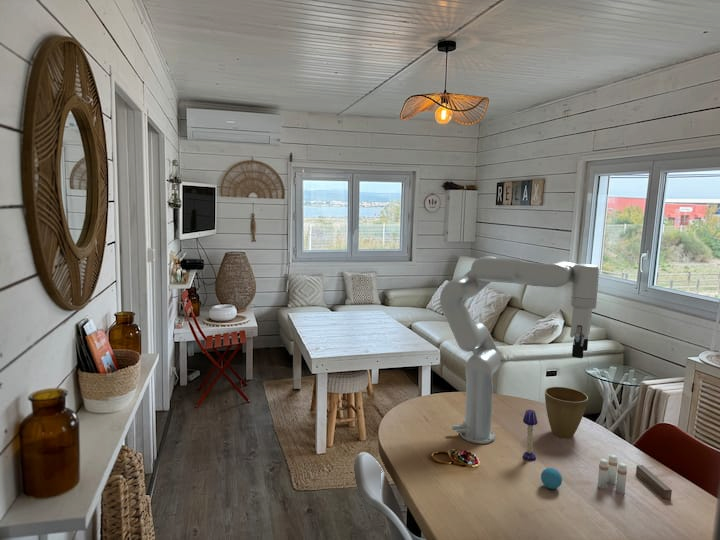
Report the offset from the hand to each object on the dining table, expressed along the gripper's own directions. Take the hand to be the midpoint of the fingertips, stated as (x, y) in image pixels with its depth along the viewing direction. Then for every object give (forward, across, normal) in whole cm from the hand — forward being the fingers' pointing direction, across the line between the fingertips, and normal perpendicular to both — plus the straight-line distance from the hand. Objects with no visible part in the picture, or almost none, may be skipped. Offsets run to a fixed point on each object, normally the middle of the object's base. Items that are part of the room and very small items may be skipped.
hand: (579, 353), depth 163 cm
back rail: (+37, +3, +24) cm, 44 cm away
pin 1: (+37, +7, +13) cm, 40 cm away
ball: (+34, +21, -3) cm, 40 cm away
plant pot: (+38, -20, -6) cm, 43 cm away
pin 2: (+37, +11, +15) cm, 42 cm away
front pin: (+37, +12, +10) cm, 40 cm away
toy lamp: (+38, +6, -13) cm, 40 cm away
